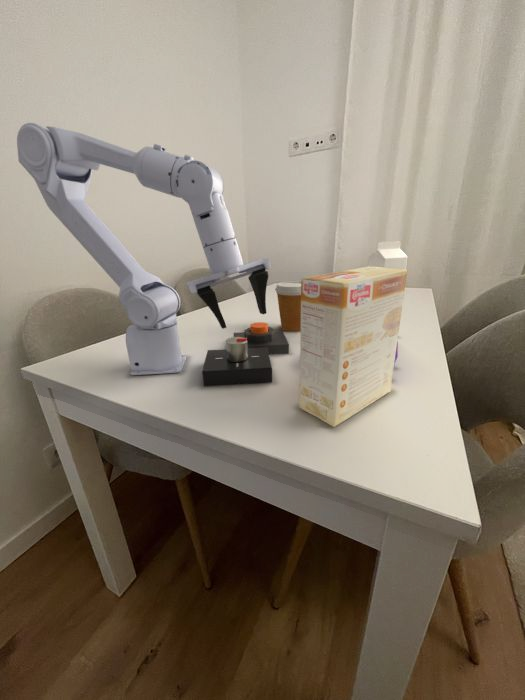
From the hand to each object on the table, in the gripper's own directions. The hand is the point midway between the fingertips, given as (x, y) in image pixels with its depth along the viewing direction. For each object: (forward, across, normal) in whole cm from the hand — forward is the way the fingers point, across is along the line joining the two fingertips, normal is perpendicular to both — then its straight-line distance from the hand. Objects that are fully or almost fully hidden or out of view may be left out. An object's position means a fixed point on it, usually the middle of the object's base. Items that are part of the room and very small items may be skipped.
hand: (243, 320), depth 54 cm
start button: (+6, +5, +12) cm, 15 cm away
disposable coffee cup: (+12, +17, +23) cm, 31 cm away
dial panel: (+10, -4, +1) cm, 10 cm away
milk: (+17, +33, +10) cm, 39 cm away
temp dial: (+7, -3, +1) cm, 7 cm away
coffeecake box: (+15, +9, -14) cm, 22 cm away
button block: (+10, +4, +13) cm, 17 cm away
